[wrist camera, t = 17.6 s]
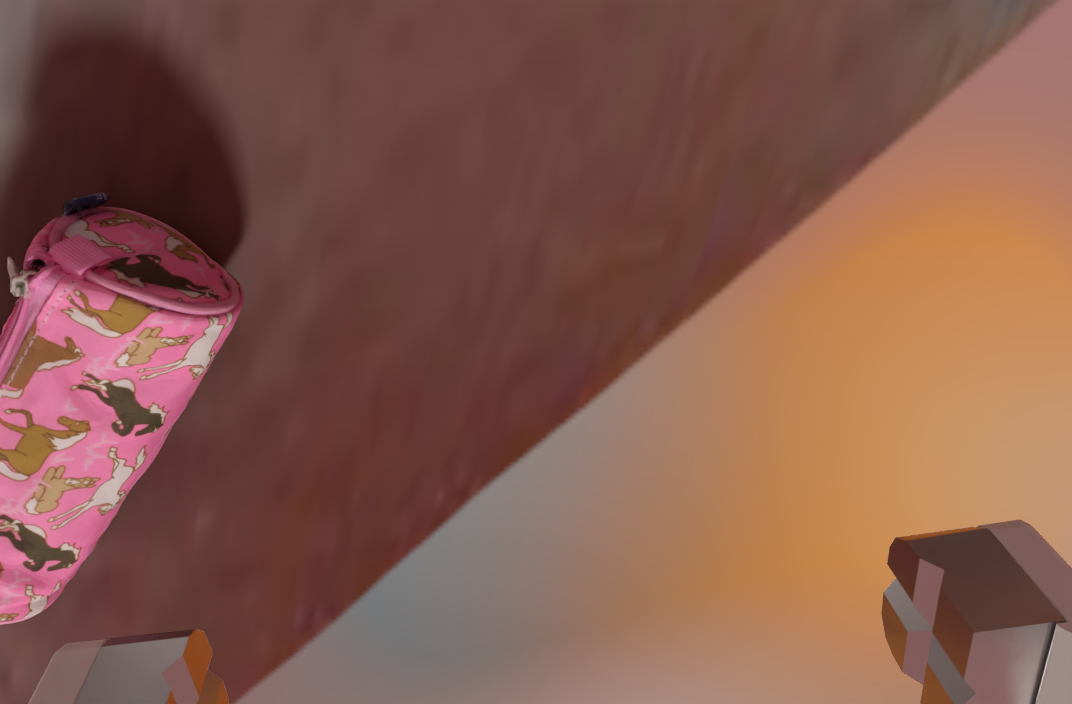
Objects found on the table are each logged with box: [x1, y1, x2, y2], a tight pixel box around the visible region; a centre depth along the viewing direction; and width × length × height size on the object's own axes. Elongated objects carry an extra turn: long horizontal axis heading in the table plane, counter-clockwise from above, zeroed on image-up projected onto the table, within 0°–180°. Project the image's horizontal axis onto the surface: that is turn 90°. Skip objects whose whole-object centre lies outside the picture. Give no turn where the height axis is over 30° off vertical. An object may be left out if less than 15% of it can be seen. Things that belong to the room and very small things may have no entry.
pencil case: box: [0, 192, 244, 624], centre depth 42 cm, size 21×9×9 cm, turn 145°
